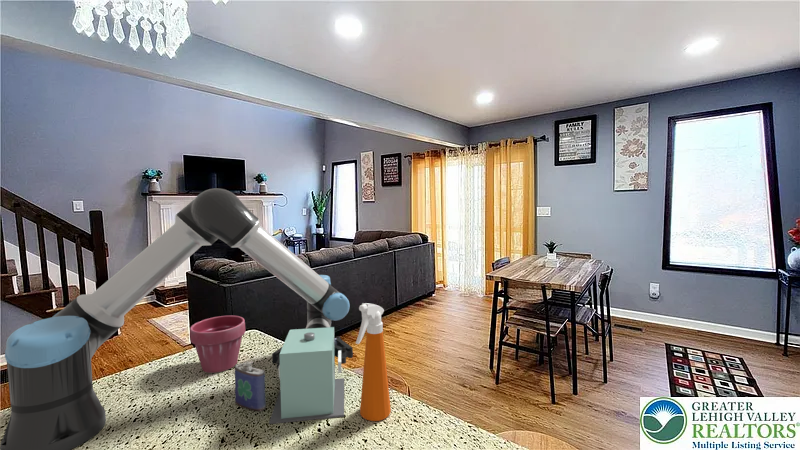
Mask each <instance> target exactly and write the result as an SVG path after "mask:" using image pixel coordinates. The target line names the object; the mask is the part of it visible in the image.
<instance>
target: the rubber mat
mask: <svg viewBox="0 0 800 450" xmlns="http://www.w3.org/2000/svg"><path fill="white" fill-rule="evenodd" d="M342 417H345V378H335V391H334V410H333V414H323V415H313V416H303V417H293V418H283V419H281V389H279V393H278V396H277V397H276V401H275V404H274V407H273V410H272V413H271V415H270V419H269V421H268V425H273V424H274V425H275V424H285V423H286V424H287V423H295V422H301V421H315V420H322V419H333V418H342Z"/></svg>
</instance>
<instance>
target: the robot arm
mask: <svg viewBox="0 0 800 450" xmlns="http://www.w3.org/2000/svg"><path fill="white" fill-rule="evenodd" d="M174 219H175V220H174V224H173V225H171V226H170V227H169V228H168V229H167V230H166V231H164V232H163V233H162V234H161V235H160V236H159V237H157V239H154V241H152V242H151V243H150V244H149V245H148V246H147V247H146V248H144V249H143V250H142V251H141V252H139V253H138V254H137V255H136V256H135V257H133V258H132V260H130V261H129V262H128V263H127V264H126V265H124V266H123V267H122V268H121V269H119V270H118V271H117V272H116V273H114V275H112V276H111V277H110V278H108V280H106V281H105V282H104V283H103V284H102V285H101V286H99V287H98V288H97V289H96V290H94V291H93V292H92V293H87V294H80V295H78V296H77V297H76V298H74V299H73V300H72V301H71V302H69V303H68V304H67V305H66V306H65V307H63V309H61V310H60V311H58V312H57V313H55V314H54V315H53V316H52V317H48V318H43V319H40V320H37V321H34V322H32V323H30V324H29V323H28V324H25V325H23V326H21V327H19V328H17V329H16V330H14V331H13V332H12V333H11V334H10V335H9V336H8V338H7V340H6V344H5V345H6V347H5V351H4V353H5V354H4V358H5V361H6V369H7V378H8V390H9V400H10V402H9V403H10V411H11V413H10V416H9V418H8V422H7V425H6V428H5V430H4V433H3V437H2V439H1V442H0V450H73V449H74V448H76V447H78V446H80V445H83V444H84V443H86V442H87V441H89V440H91V439H92V438H93V437H94V436H96V435H97V434H98V433H100V431H101V430H102V429H103V428H104V426H105V425H106V422H107V417H106V416H107V415H106V409H105V407H104V405H102V403H101V400H100V399H99V397H98V396H97V393H96V392H95V389H94V388H93V387H94V386H93V385H94V384H93V369H92V358H93V356H94V355H95V354H96V352H97V350H98V349H99V348H100V347H101V346H102V345H103V344H104V343H105V342H106V341H107V340H108V339H109V338H111V337H112V336H113V335H114V334H115V333H116V332H117V331H118V330H120V329H121V328H122V327H123V325H124V324H125V315H127V314H128V313H129V312H130V311H131V310H132V309H133V308H134V307H135V306H136V305H138V304H139V303H140V302H141V301H142V300H143V299H144V298H145V297H147V296H148V295H149V294H150V293H151V292H153V290H154V289H155V288H156V287H157V286H159V285H160V284H161V283H162V282H163V281H164V280H166V278H168V277H169V276H170V275H171V274H172V273H173V272H175V270H177V269H178V268H179V267H180V266H181V265H182V264H183V263H184V262H185V261H186V260H188V259H189V258H190V257H191V256H192V255H193V254H195V252H197V251H199V249H200V248H201V247H202V246H203V247H204V246H212V245H213V244H214V243H216V241H218V240H221V241H222V242H223V243H225V244H227V245H228V246H229V247H230V248H238V249H240V250H241V251H242V252H244V253H245V254H246V255H248V257H250V258H251V259H253V260H254V261H255V262H256V263H258V264H259V265H260V266H261V267H263V268H264V269H265V270H266V271H268V272H269V273H270V274H272V275H273V276H274V277H276V278H277V279H278V280H280V281H281V282H282V283H283V284H285V286H287V287H288V288H290V289H291V290H292V291H293V292H295V293H296V294H297V295H298V296H300V297H302V299H304V300H305V301H306V311H307V312H306V314H307V315H306V316H307V318H306V319H307V321H306V322H307V323H306V327H305V329H311V328H327V327H332V323H333V322H332V321H340V320H342V319H344V318H345V317H346V316H347V315H348V313H349V311H350V305H351V304H350V301H349V298H347V296H346V295H345V294H344V293H342V292H340V291H338V289H336V288H334V287H333V286H332V283H331V277H330V276H329V275H326V274H318V273H317V272H316V271H315V270H314V269H313V268H311V267H310V266H309V265H308V264H306V263H305V262H304V261H303V260H302V259H301V258H300V257H298V255H296V254H295V253H294V252H293V251H291V250H290V249H289V248H288V247H286V246H285V244H283V243H282V242H280V241H279V239H277V238H276V237H275V236H273V235H272V234H271V233H270V232H269V231H268V230H266V229H265V228H264V227H263V226H261V224H260V223H261V222H260V219H259V218H258V217H257V216H256V215H255V214H254V213H253V212H252V211H250V209H249V208H248V207H247V206H246V205H245V204H244V203H243V202H242V200H241V199H240V198H239V197H238V196H237V195H236V194H235V193H233V192H232V191H229V190H227V189H225V188H220V187H219V188H209V189H205V190H204V191H202V192H200V193H199V194H198V195H197V196H195V198H194V199H192V201H191V202H189V203H187V204H186V205H185V206H184V207H183V208H182V209H181V210H180V211H178V212H177V213H176V214H175V218H174ZM282 347H283V346H281V347H280V348H278V349H277V350H275V351H274V352H273V353H271V361H272V364H273V365H275V364H276V369H278V379H280V352H281V349H282ZM334 348H335V357H336V358H337V373H338V374H341V373H342V365H343V364H346V363H347V358H349V359H352V358H353V357H354V356H353V355H354V352H353V349H354V348H353V347H352V346H351V345H350V344H349V343H347V342H346V341H344V340H343V339H342V338H341V336H339V335H338V336H337V335H336V336H335V337H334Z"/></svg>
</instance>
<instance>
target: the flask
mask: <svg viewBox="0 0 800 450" xmlns="http://www.w3.org/2000/svg"><path fill="white" fill-rule="evenodd" d="M253 363H254V362H253V361H252V360H250V361H248V360H247V361H245V362H244V361H243V362H242V363H241V362H240V363H237V364H236V365H235V366H234V395H235V396H234V397H235V398H234V401H235V402H234V403H235V404H236V406H238V407H240V408H243V409H245V410H249V411H251V412H258V413H259V412H263V411H264V410H265V409H266V407H267V401H266V400H267V399H266V397H267V396H266V371H265V370H264V369H260V368H255V367H253V365H252V364H253Z"/></svg>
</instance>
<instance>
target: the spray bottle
mask: <svg viewBox="0 0 800 450" xmlns="http://www.w3.org/2000/svg"><path fill="white" fill-rule="evenodd" d="M358 310H359V311H360V312H361V324H360V328H359V331H358V335H357V338H356V341H355V344H356V345H359V344H360V343H361V342H362V339H363V338H364V336H365V348H364V349H365V350H364V361H363V372H362V373H363V374H362V382H361V383H362V384H361V397H360V407H359V414H360V416H361V417H362V418H363V419H365V420H366V421H369V422H370V421H371V422H380V421H383V420H385V419H386V418H388V417H389V416H390V414H391V412H392V409H391V399H390V398H391V397H390V388H389V380H388V378H389V377H388V371H387V370H388V369H387V368H388V367H387V359H386V349H385V340H384V330H383V327H384V326H383V325H384V323H383V321H382V315H383V314H384V312H385V309H384V308H383V306H380V305H377V304H376V303H375V304H374V303H367V302H365V303H364V302H362V303H361V305H359V307H358ZM365 333H366V335H365Z"/></svg>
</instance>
